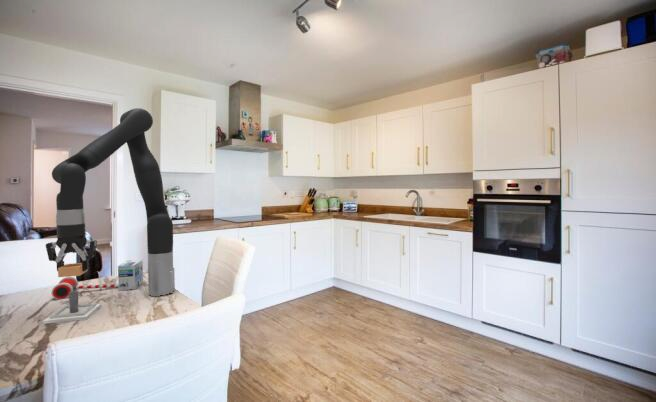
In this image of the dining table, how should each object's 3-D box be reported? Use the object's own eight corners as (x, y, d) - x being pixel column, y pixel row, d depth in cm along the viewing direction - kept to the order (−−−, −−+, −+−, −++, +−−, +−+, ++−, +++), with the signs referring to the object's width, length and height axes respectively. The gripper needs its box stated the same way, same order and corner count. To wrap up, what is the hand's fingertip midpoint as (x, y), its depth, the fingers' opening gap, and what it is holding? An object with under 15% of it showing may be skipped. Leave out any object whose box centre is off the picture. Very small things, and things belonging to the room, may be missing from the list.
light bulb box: (135, 289, 135) (134, 265, 134) (117, 291, 133) (117, 266, 132) (143, 282, 145) (143, 259, 145) (127, 283, 143) (126, 260, 143)
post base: (101, 306, 116) (100, 285, 116) (86, 319, 105) (85, 295, 104) (62, 309, 113) (61, 287, 112) (43, 323, 101) (42, 299, 101)
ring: (87, 270, 111) (87, 262, 110) (80, 275, 105) (79, 266, 105) (67, 272, 109) (66, 263, 109) (58, 277, 103) (57, 268, 103)
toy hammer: (123, 284, 143) (123, 270, 143) (121, 291, 133) (121, 276, 133) (59, 292, 132) (58, 277, 132) (51, 301, 122) (50, 285, 122)
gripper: (100, 220, 112) (102, 267, 113) (51, 222, 107) (53, 270, 108) (91, 223, 105) (93, 272, 105) (38, 225, 100) (41, 276, 101)
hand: (73, 271), depth 107 cm, fingers closed on ring, 6 cm apart
